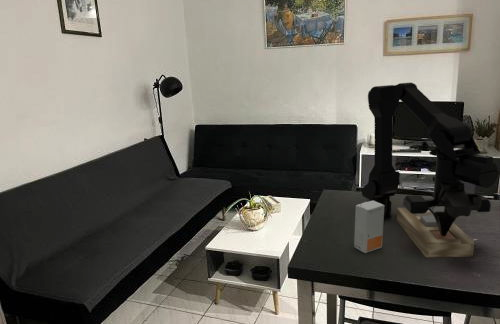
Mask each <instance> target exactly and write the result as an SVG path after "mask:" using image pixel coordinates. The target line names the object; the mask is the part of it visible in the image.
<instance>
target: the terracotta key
mask: <svg viewBox="0 0 500 324" xmlns="http://www.w3.org/2000/svg"><path fill="white" fill-rule="evenodd" d="M431 233H432V234H433V235H434V236H435V237H436V238H437V239H456V238H455V237H454V236H453V235H452V234H451V233H450V232H449V231H448V232H447V234H446V236H442V235H441V234H440V231H431Z"/></svg>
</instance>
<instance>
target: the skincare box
mask: <svg viewBox="0 0 500 324" xmlns="http://www.w3.org/2000/svg"><path fill="white" fill-rule="evenodd" d="M354 215H355V217H354V240H353V241H354V242H353V244H354V245H353V247H354V248H355V249H357V250H358V251H360V252H362V253H364V254H368V253H370V252H373V251H376V250H379V249H381V248H383V240H384V239H383V236H384V219H385V218H384V205H383V204H380V203H378V202H376V201H369V202H367V201H364V202H362V203H359V204H356V205H355V214H354Z"/></svg>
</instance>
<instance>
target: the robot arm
mask: <svg viewBox="0 0 500 324" xmlns="http://www.w3.org/2000/svg"><path fill="white" fill-rule="evenodd" d="M400 101H401V102H402V103H403V104H404V105H405V106H406V107H407V109H409V110H410V112H412V113H413V114H414V115H415V116H416V117H417V118H418V119H419V121H421V123H422V124H423V125H424V126H425V127H426V129H427V132H428V137H429V139H430V140H431V142H432V143H433V144H434V145H435V148H434V149H431V151H429V152H428V153H429V155H430V156H431V155H432V156H434V157H436V163H435V175H434V176H432V181H433V182H434V186H433V187H434V188H433V189H434V190H433V191H431V195H430V196H431V197H432V198H433V199H430V198H429V199H425V198H424V197H423V196H422V195H421V194H417V195H415V194H413V195H412V194H411V195H406V196H405V197H404V198H403V201H402V202H403V208H406V209H407V210H408V211H409V212H410V213H412V214H425V213H426V212H427V211H428V210H429V211H430V212H431V213H432V214H433V215H434V217H435V220H436V223H437V226H438V228H439V231H440V234H441V235H442V236H446V234H447V232H448V231H449V229H450V227H451V225H452V224H453V223H454V222H455V221H456V219H457V218H459V217H470V216H471V214H472V211H476V212H477V213H489V212H491V209H492V203H491V201H490V200H489V199H488V198H486V196H484V195H482V194H480V193H470V192H469V193H468V192H467V193H466V191H465V183H467V184H470V185H473V186H477V187H480V188H483V189H488V188H490V187H492V186H494V185H495V184H496V181H497V180H498V178H499V174H500V173H499V170H498V169H499V168H498V165H497V164H496V163H495V162H494V157H493V156H490V155H481V151H480V149H479V147H478V145H477V143H476V141H475V138H474V137H473V136H472V135H473V134H472V130H471V128H470V127H469V125H467V124H466V123H464V122H462V121H461V120H460V119H458V118H456V117H453V116H450V115H448V114H446V113H445V112H443V111H442V110H441V109H440V108H439V107H438V106H437V105H436V104H434V102H432V101H431V100H430V99H429V97H427V96H426V95H425V94H424V93H423V92H422V91H421V90H419V88H418V86H417V84H415V83H413V82H401V83H398V84H395V85H394V84H391V85H390V84H387V85H377V86H372V88H371V89H370V90H369V91H368V94H367V102H368V109H369V110H370V112H371V114H372V115H373V117H374V163H373V164H374V165H373V166H372V169H371V171H370V172H369V174H368V182H367V183H366V184H365V185H364V186H363V187H362V188H361V190H360V191H361V195H362V197H363V198H365V199H366V202H369V201H376V202H378V203H380V204H383V205H384V219H391V218H392V216H391V214H392V201H391V197H395V195H396V193H397V190H398V189H399V186H401V182H400V176H401V173H400V171H398V170H396V169H395V167H394V166H393V139H394V137H393V133H394V131H393V130H394V129H393V128H394V127H393V125H394V124H393V123H394V121H393V120H394V119H393V118H394V116H395V113H396V112H397V110H398V108H399V106H400ZM458 148H459V149H458ZM464 182H465V183H464Z"/></svg>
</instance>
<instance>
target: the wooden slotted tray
mask: <svg viewBox="0 0 500 324" xmlns="http://www.w3.org/2000/svg"><path fill="white" fill-rule="evenodd" d="M396 209H397V210H396V212H397V213H396V222H398V224H399V225H400V226H401V228H403V230H404V231H405V232H406V234H407V235H408V236H409V238H410V239H411V240H412V241H413V242H414V245H416V247H417V248H418V249H419V251H420V252H421V253H422V254H423V255H424V257H425V258H456V257H457V258H458V257H459V258H461V257H463V258H464V257H467V258H468V257H473V255H474V248H475V247H474V246H475V245H474V244H475V240H473V239H472V238H471V237H470V236H469V235H468V234H467V233H466V232H464V230H462V229H461V228H460V227H458V226H457V225H456V224H455V223H454V222H453V224H452V225H451V227H450V229H449V232H450V233H451V234H452V235H453V236H454V237H455V238H456V239H437V238H436V237H435V236H434V235H433V234H432V233H431V231H439V228H438V227H425V226H424V225H423V223H422V222H421V221H420V216H415V215H414V214H412V213H410V212H409V211H408V210H407V209H406V208H405V207H397V208H396Z"/></svg>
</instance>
